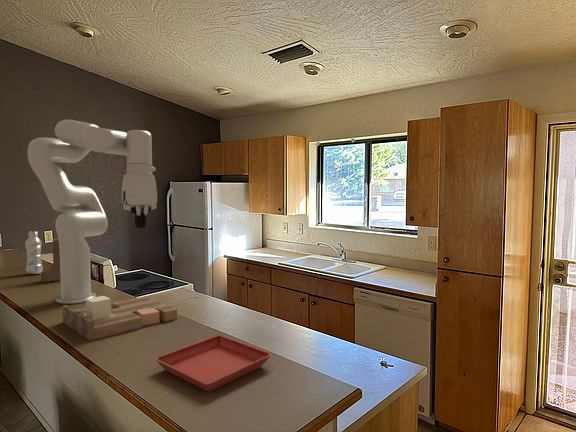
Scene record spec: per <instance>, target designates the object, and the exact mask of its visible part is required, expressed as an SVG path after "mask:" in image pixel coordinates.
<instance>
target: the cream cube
mask: <svg viewBox="0 0 576 432" xmlns="http://www.w3.org/2000/svg"><path fill="white" fill-rule="evenodd" d="M85 308H86V316H87V317H89V318H90V319H92V320H96V319H101V318H105V317H110V316H111V309H112V298H110V297H108V296H105V295H99V296H96V297H94V298H88V299H86V302H85Z"/></svg>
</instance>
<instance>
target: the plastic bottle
mask: <svg viewBox="0 0 576 432" xmlns="http://www.w3.org/2000/svg"><path fill="white" fill-rule="evenodd" d="M38 236H39V231H28V238H27V239H26V240H25V243H24V245H25V250H26V255H27V258H26V267H25V271H26V273H27V275H33V274H35V275H39V274H41V272H42V271H43V269H44V267H43V266H44V265H43V263H42V244H43V242H42V239H40V238H39V237H38Z"/></svg>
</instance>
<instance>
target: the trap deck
mask: <svg viewBox="0 0 576 432" xmlns="http://www.w3.org/2000/svg"><path fill="white" fill-rule="evenodd" d="M61 307H62V323H64V325H66V326H67V327H69V328H70V329H72V330H73V331H74V332H76V333H77V334H79V335H80V336H82V337H84V338H85V340H87V341H94V340H98V339H102V338H107V337H110V336H113V335H114V336H115V335H118V334H123V333H126V332H130V331H134V330H139V329H142V328H143V326H142V317H141V316H139V315H137V310H143V309H149V308H155V309H156V310H158V311H159V320H160V321H161V322H162V321H163V322H165V323H166V322H170V321H174V320H177V319H178V309H177V308H175V307H172V306H170V305H167V304H164V303H162V302H159V301H156V300H154V299H151V298H149V297H146V296H141V297H136V298H135V297H134V298H130V299H126V300H125V299H124V300H120V301H115V302H111V316H110V317H105V318H101V319H96V320H92V319H90V318H89V317H87V316H86V307H83V308H77V309H75V308H73V306H70V305H69V304H64V305H62V306H61Z"/></svg>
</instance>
